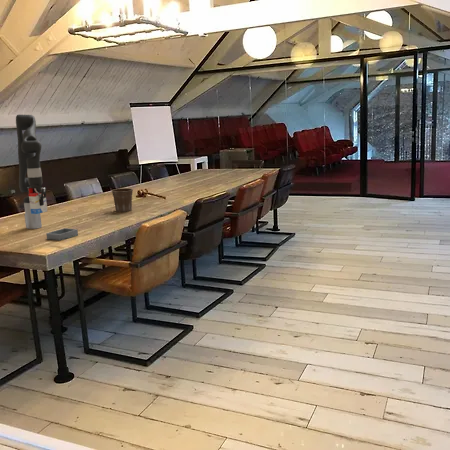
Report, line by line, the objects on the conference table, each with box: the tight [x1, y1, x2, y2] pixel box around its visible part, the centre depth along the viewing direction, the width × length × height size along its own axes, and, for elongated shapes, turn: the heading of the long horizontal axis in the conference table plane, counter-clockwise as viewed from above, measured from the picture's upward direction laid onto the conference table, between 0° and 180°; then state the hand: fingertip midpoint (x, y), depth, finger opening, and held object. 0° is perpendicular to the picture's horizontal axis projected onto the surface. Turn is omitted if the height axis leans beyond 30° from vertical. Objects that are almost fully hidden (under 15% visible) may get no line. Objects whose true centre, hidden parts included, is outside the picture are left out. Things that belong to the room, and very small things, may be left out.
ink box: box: [28, 188, 48, 214], centre depth 282 cm, size 8×5×15 cm, turn 157°
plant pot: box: [111, 187, 134, 213], centre depth 373 cm, size 16×16×16 cm
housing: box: [46, 227, 79, 242], centre depth 293 cm, size 11×15×4 cm
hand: (38, 205), depth 282 cm, fingers closed on ink box, 5 cm apart
